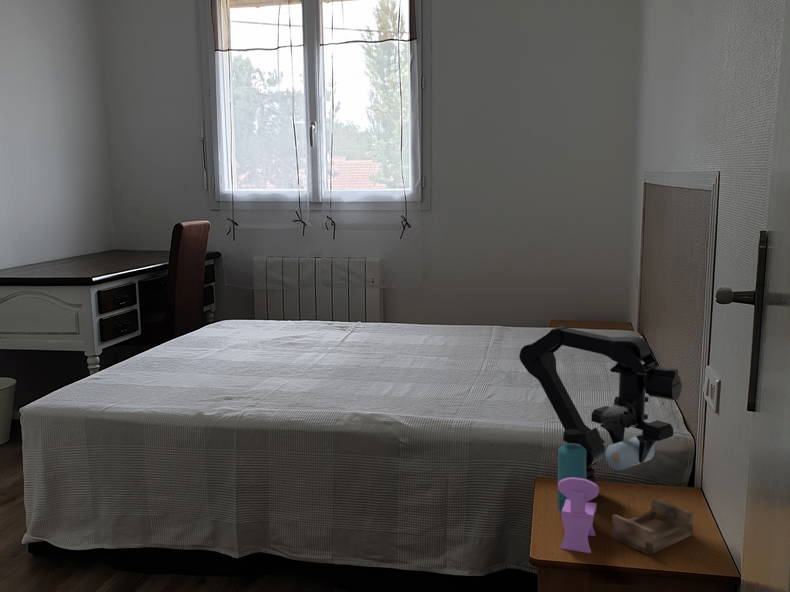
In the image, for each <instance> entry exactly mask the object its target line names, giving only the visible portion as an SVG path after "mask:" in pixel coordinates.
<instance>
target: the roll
mask: <svg viewBox="0 0 790 592" xmlns="http://www.w3.org/2000/svg"><path fill="white" fill-rule="evenodd" d="M655 450H656V449H655V446H654V444H653V446H652V447H651V449H650V451H649V453H648V455H647V457H646V459H645V460H644V462H643V463H646V462H648V461H651V460H652V459H653V458H654V455H655V453H656V451H655ZM604 455H605V459H606V462H607V464H608V465H609V466H610V468H612V469H613V470H615V471H623V470H625V469H628V468H631V467H634V466H638V465H639V464H641V463H640V462H639V440H638V439H637V437H636V436H633V437H630V438H627V439H623V441H621V442H617V443H614V444H613V443H612V444H610V445H608V446H607V447H606V448H605V452H604Z"/></svg>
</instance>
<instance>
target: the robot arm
mask: <svg viewBox="0 0 790 592" xmlns="http://www.w3.org/2000/svg"><path fill="white" fill-rule="evenodd" d="M562 346H563V347H565V346H566V347H570V348H573V349H578V350H583V351H586V352H591V353H596V354H600V355H603V356H606V357H608V358H609V359H610V360H612V361H613V362H616V364H615V365H614V366H613V367H611V368H610V369H609V371H610V372H611V373H615V374H618V396H615V397H614V399H613V400H614V401H613V405H612V406H607V405H606V406H602V407H597V408H595V409H593V411H592V412H591V418H590V419H591V422H593V423H597V424H600V427H601V428H602V429H604V430H606V431H607V433H608V435H609V437H610V439H611V441H612V444H614V443H617V442H621V441H624V440H625V439H624V436H625V432H626V429H629V428H634V429H637V430H641V434H640V435H637V436H635V437H637V439H638V440H639V462H640V464H642V463H645V462H644V460H645V459H646V457H647V455H648V453H649V451H650V449H651V447H652V446H653V445H654V444H655V443H656V441H657V442H659V441H660V442H661V441H663V440H665V439H668V438H671V437H674V426H673V425H672V424H671V423H669V422H665V421H662V420H658V419H657V420H654V421H651V422H646V421H645V420H648V418H649V415H648V414H647V413H645V407H646V404H645V403H648V402H649V397H651V398H657V399H663V400H669V401H675V402H676V401H678V399H679V398H680V396H681V393H682V387H683V385H682V384H683V383H682V380H681V376H680V375H679V370H678V369H676V368H664V367H660V364H659V363H658V361H657V359H656V358H655V357H654V355H653V353H652V352H651V348H650V345H649V343H648V342H647V339H645V338H643V337H641V336H615V337H614V336H607V335H603V334H597V333H593V332H588V331H585V330H578V329H574V328H568V327H567V326H564V325H561V326H558V327H555V328H553V329H551V330H550V331H549V332H547V333H546V334H545V335H543V336H542V337H541V338H538V339H537V340H535V341H534V342H531V343H529V344H525V345H524V346H523V347H522V348H521V350H520V353H519V355H518V356H519V357H518V358H519V360H520V363H521V364H522V365H523V367H524V368H525V370H526V371H527V372H528V373H529V374H530V375H531V376H532V377H534V378H535V379H536V380H537V381H538V382H539V384H540V385H541V387H542V389H543V391H544V393H545V395H546V397H547V400H548V401H549V402H550V404H551V407H552V409H553V410H554V412H555V413H556V415H557V417H558V420H559V421H560V424H561V426H562V427H563V430H564V431H565V430H568V429H574V430H579V431H580V432H581V434H582V442H580V443H576V444H580V445H581V446H583V447H584V448H585V449H586V451H587V454H586V471H587V472H586V477H587V478H586V480H589V481H591V482H593V483H595V484H596V476H595V469H594V468H592V467H593V466H596V465H597V464H598V462H599V461H600V460H601V459H602V458H603V457H604V455H605V453H606V448H605V442H606V441H605V440H604V439H603V438H602V437H601V435H600V432H599V429H598V428H597V427H593V428H592V429H591V428H590V427H589V426H587V425H586V424H585V422H584V420H583V418H582V416H581V415H580V413H579V411H578V410H577V408H576V405H575V403H574V402H573V400H572V398H571V396H570V394H569V392H568V391H567V389H566V387H565V385H564V382H563V381H562V379H561V378H560V375H559V374H558V370H557V359H556V357H555V354H554V353H555V352H557V351H558V350H559V349H560V348H561V347H562ZM646 394H647V395H648V396H649V397H648V396H646ZM566 443H568V442H566Z"/></svg>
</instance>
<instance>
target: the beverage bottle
mask: <svg viewBox="0 0 790 592" xmlns="http://www.w3.org/2000/svg"><path fill="white" fill-rule="evenodd" d="M562 435H563V437H562V441H563V442H565V443H563V444H562V445H561V446H560V447H559V448H558V450H557V452H558V458H557V460H558V461H557V462H558V464H557V465H558V467H557V484H558V483H559V481H560V480H562V479H565V478H570V477H575V478H583V479H586V478H587V477H586V472H587V471H586V454H587V451H586V449H585V448H584V447H583V446H581V445H580V444H576V443H580V442H582V434H581V432H580V431H579V430H574V429H568V430H565V429H564V431H563V433H562ZM567 442H568V443H567ZM566 499H568V498H567V497H566V496H565V495H564V494H562V493H561V492H560V491H559V489H558V488H557V510H558V512H559V513H561V514H562V509H563V507H564V504H565V501H566ZM569 500H570V499H569Z"/></svg>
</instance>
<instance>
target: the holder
mask: <svg viewBox="0 0 790 592" xmlns="http://www.w3.org/2000/svg"><path fill="white" fill-rule="evenodd" d="M611 517H612V518H611V519H612V520H611V538H612V539H613V540H615V541H618V542H620V543H622V544H625V545H627V546H629V547H631V548H633V549H634V550H635V549H636V550H638V551H640V552H642V553H645V554H646V555H648V556H651V555H653V554H656V553H657V552H659V551H662V550H664V549H666V548H668V547H670V546H672V545H674V544H677V543H678V542H680V541H683V540H685V539H687V538H689V537H692V536H693V524H694V523H693V522H694V512H692V511H689V510H687V509H684V508H681V507H678V506H676V505H673V504H671V503H668V502H665V501H663V500H660V499H658V498H652V499H651V509H650V510H648V511H646V512H644V513H643V512H642V513H641V514H639V515H636V516H634V517H632V518H626V517H623V516H621V515H618V514H616V513H615V514H613V515H612V516H611Z"/></svg>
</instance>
